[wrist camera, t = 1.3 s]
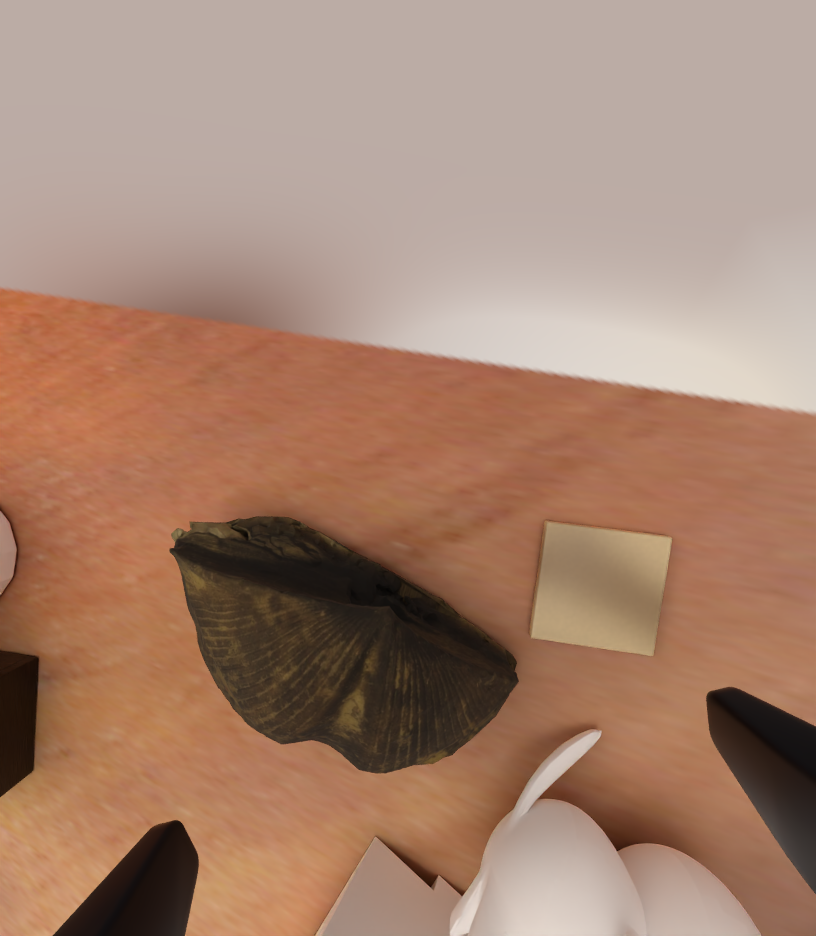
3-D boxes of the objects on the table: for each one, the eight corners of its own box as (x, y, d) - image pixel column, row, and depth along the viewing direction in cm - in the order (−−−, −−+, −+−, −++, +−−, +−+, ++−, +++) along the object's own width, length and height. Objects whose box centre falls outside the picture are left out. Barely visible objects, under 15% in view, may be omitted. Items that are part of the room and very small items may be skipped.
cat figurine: (477, 1075, 12) (891, 1351, 11) (583, 697, 17) (884, 868, 16) (422, 924, 20) (666, 1080, 19) (506, 693, 25) (706, 808, 24)
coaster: (648, 651, 21) (653, 657, 20) (528, 633, 21) (530, 638, 21) (667, 535, 20) (673, 537, 20) (544, 519, 21) (546, 521, 20)
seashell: (552, 620, 20) (580, 755, 14) (462, 745, 23) (449, 905, 17) (240, 457, 21) (125, 512, 14) (191, 599, 24) (76, 698, 17)
